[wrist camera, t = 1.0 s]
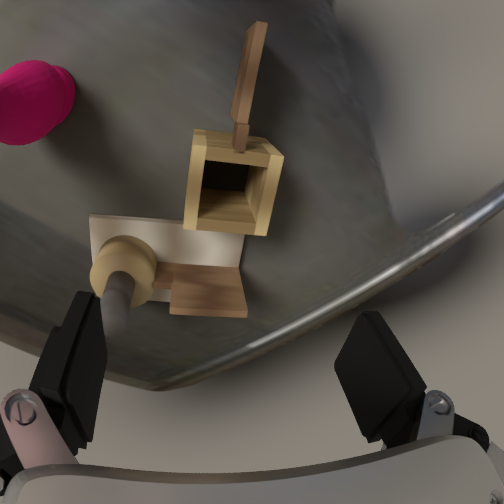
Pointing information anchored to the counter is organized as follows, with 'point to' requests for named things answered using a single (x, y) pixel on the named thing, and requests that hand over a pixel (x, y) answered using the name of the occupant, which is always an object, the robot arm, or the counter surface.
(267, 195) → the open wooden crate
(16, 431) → the robot arm
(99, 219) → the hinge base
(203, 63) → the counter surface
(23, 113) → the pepper mill
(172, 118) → the counter surface
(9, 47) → the counter surface
